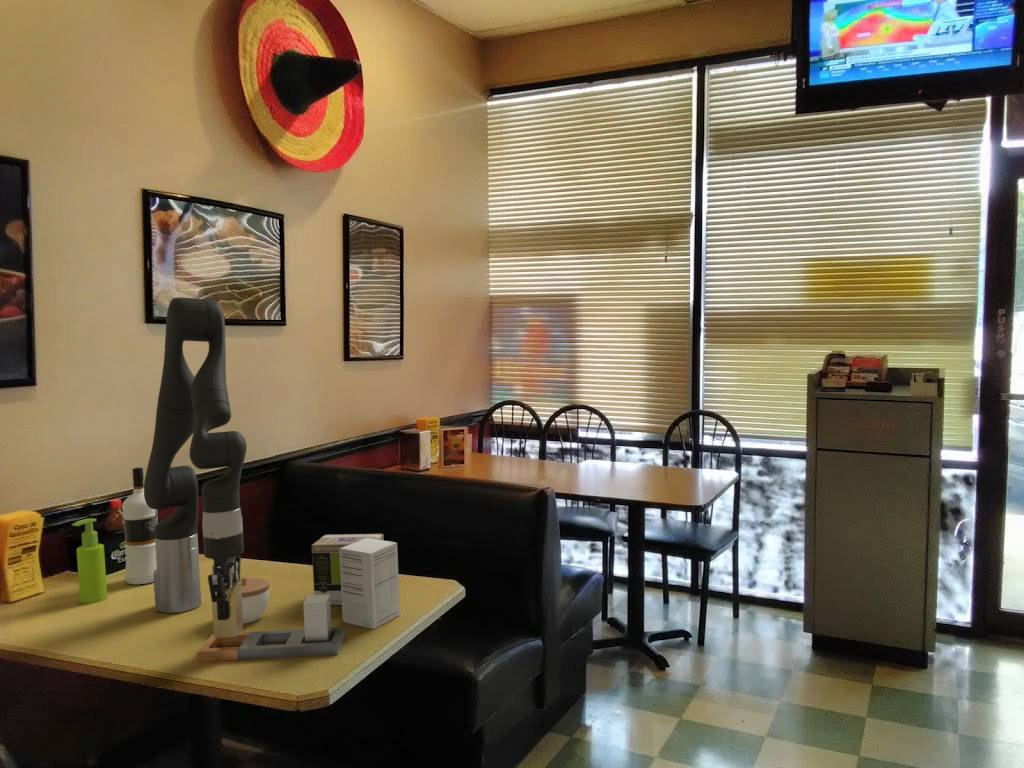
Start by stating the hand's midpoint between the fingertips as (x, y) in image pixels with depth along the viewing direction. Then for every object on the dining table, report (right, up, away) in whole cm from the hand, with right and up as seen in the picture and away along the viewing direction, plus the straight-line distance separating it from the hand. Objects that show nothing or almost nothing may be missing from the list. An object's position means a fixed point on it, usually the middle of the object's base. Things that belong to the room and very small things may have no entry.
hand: (227, 614), depth 155 cm
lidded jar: (-3, -7, +18) cm, 20 cm away
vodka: (-40, -6, +48) cm, 63 cm away
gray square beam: (+18, -7, +2) cm, 19 cm away
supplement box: (+26, -6, +16) cm, 31 cm away
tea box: (+19, -5, +30) cm, 36 cm away
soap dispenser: (-46, -7, +34) cm, 57 cm away
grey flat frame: (+9, -7, +1) cm, 12 cm away
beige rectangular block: (0, -4, 0) cm, 4 cm away
